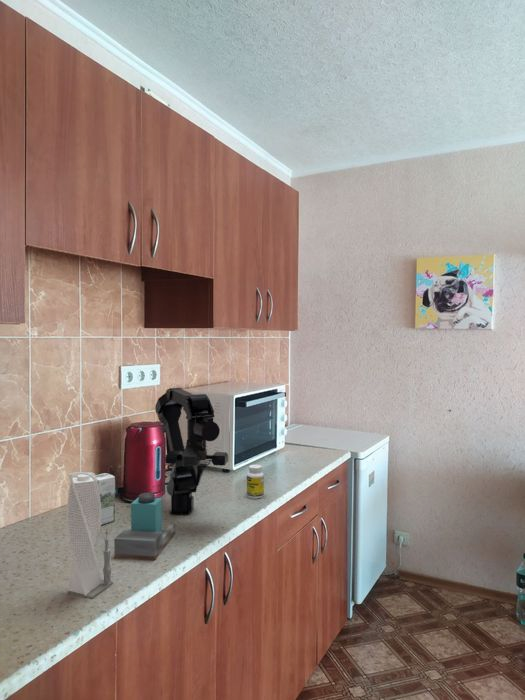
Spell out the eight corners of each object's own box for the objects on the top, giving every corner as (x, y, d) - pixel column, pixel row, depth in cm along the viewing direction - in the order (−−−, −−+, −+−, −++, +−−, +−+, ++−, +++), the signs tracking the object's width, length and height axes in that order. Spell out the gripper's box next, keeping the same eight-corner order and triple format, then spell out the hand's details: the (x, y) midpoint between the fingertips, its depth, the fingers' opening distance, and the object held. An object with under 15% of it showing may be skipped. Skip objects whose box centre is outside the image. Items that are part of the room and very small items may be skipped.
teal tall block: (138, 535, 139) (137, 491, 138) (162, 536, 138) (161, 492, 138) (131, 543, 134) (130, 497, 134) (155, 544, 133) (155, 498, 133)
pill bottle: (243, 497, 175) (243, 467, 175) (251, 492, 181) (251, 463, 180) (258, 500, 172) (258, 469, 172) (266, 495, 178) (266, 465, 178)
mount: (139, 531, 145) (139, 515, 145) (175, 533, 143) (175, 516, 143) (114, 557, 128) (114, 538, 128) (154, 560, 127) (154, 541, 126)
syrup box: (105, 516, 157) (104, 472, 156) (115, 521, 153) (115, 475, 153) (88, 522, 152) (88, 476, 152) (99, 526, 149) (98, 479, 148)
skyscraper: (87, 602, 107) (86, 475, 106) (59, 594, 110) (57, 471, 109) (112, 583, 115) (111, 465, 114) (85, 577, 118) (84, 462, 117)
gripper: (158, 440, 143) (159, 492, 144) (220, 441, 141) (221, 495, 141) (170, 432, 154) (171, 481, 155) (228, 434, 152) (228, 483, 152)
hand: (197, 485), depth 150 cm, fingers closed
